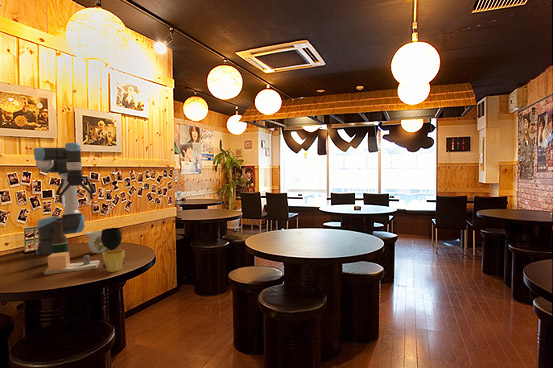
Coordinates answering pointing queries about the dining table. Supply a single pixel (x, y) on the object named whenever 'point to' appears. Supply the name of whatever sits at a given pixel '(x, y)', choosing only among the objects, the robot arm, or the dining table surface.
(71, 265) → the post board
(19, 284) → the dining table surface
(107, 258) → the plant pot
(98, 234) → the pitcher
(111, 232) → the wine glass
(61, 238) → the beer bottle
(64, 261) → the tan block
